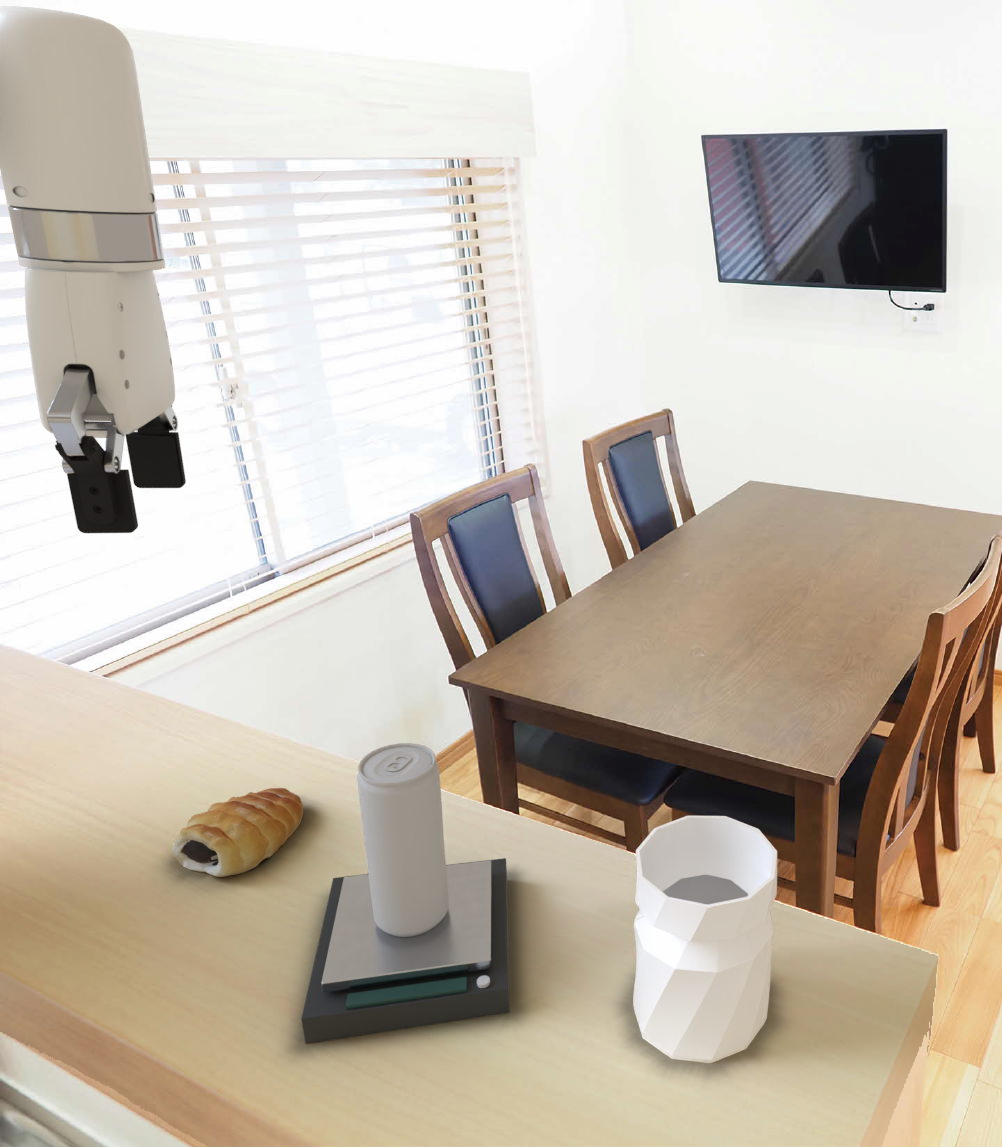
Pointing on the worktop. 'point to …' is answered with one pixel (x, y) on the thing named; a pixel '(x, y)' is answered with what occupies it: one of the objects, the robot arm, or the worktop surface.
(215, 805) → the pastry
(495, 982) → the scale
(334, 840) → the worktop surface
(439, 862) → the beverage can
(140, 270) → the robot arm
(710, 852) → the vase
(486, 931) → the scale pan
